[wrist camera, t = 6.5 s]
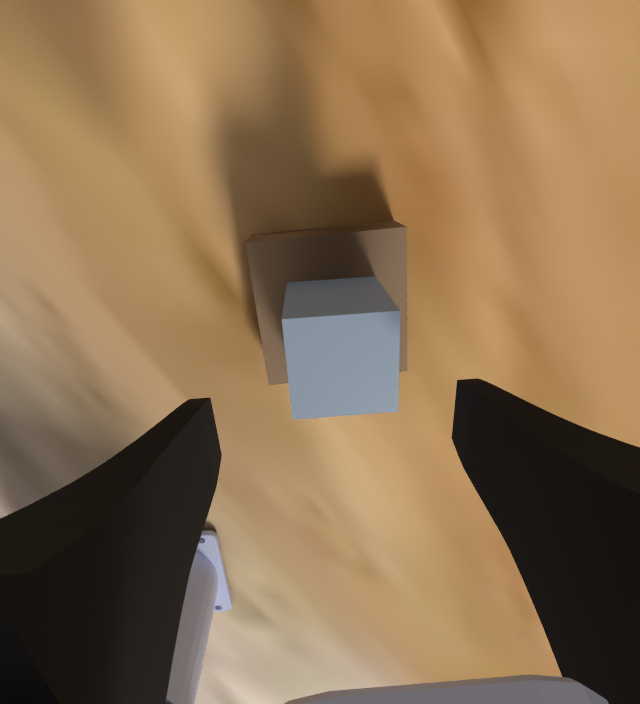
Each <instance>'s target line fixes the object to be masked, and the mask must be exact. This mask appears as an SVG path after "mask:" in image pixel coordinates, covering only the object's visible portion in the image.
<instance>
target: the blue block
mask: <svg viewBox="0 0 640 704" xmlns="http://www.w3.org/2000/svg"><path fill="white" fill-rule="evenodd" d="M282 327H283V336H284V346H285V355H286V364H287V373H288V382H289V391H290V401H291V410H292V419H293V420H294V419H307V418H320V417H334V416H347V415H360V414H373V413H386V412H398V400H399V353H400V309H399V308H398V307H397V305H396V304H395V303H394V301H393V300H392V298H391V297H390V296H389V294H388V293H387V292H386V290H385V289H384V287H383V286H382V285H381V283H380V282H379V281H378V279H377V278H376V276H371V277H358V278H344V279H330V280H316V281H302V282H288V283H287V286H286V293H285V300H284V307H283V313H282Z"/></svg>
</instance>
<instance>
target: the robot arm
mask: <svg viewBox="0 0 640 704" xmlns="http://www.w3.org/2000/svg"><path fill="white" fill-rule="evenodd" d="M452 440H453V442H454V445H455V448H456V450H457V453H458V456H459V458H460V460H461V463H462V465H463V468H464V469H465V471H466V473H467V475H468V477H469V478H470V480H471V482H472V484H473V485H474V487H475V489H476V491H477V492H478V494H479V496H480V498H481V499H482V501H483V503H484V505H485V506H486V508H487V510H488V511H489V513H490V515H491V517H492V518H493V520H494V522H495V524H496V525H497V527H498V529H499V531H500V532H501V534H502V536H503V538H504V540H505V542H506V544H507V546H508V547H509V549H510V551H511V554H512V556H513V558H514V560H515V563H516V565H517V567H518V569H519V572H520V574H521V576H522V578H523V580H524V583H525V585H526V587H527V590H528V592H529V594H530V597H531V599H532V602H533V604H534V606H535V609H536V611H537V613H538V616H539V618H540V621H541V623H542V625H543V628H544V630H545V633H546V636H547V638H548V641H549V643H550V646H551V648H552V651H553V653H554V656H555V659H556V661H557V664H558V666H559V669H560V671H561V674H562V677H554V676H541V675H519V676H507V677H495V678H483V679H471V680H459V681H447V682H435V683H423V684H411V685H399V686H387V687H375V688H363V689H350V690H338V691H328V692H324V693H320V694H316V695H311V696H307V697H303V698H299V699H294V700H290V701H288V702H286V703H285V704H640V447H637V446H633V445H630V444H627V443H624V442H621V441H619V440H616V439H613V438H610V437H608V436H605V435H602V434H599V433H597V432H594V431H591V430H589V429H586V428H584V427H581V426H579V425H577V424H574V423H572V422H570V421H568V420H565V419H563V418H561V417H558V416H556V415H554V414H552V413H550V412H547V411H545V410H543V409H541V408H539V407H537V406H535V405H533V404H531V403H529V402H527V401H525V400H523V399H521V398H519V397H517V396H515V395H513V394H511V393H509V392H507V391H505V390H503V389H501V388H499V387H497V386H495V385H492V384H490V383H488V382H486V381H483V380H481V379H466V380H457V389H456V400H455V410H454V421H453V431H452ZM221 456H222V455H221V450H220V444H219V439H218V434H217V429H216V424H215V419H214V414H213V409H212V404H211V399H210V398H200V399H189V400H187V401H186V402H184V403H183V404H182V405H180V406H179V407H178V408H176V409H175V410H174V411H173V412H171V413H170V414H169V415H168V416H166V417H165V418H164V419H163V420H161V421H160V422H159V423H158V424H156V425H155V426H154V427H153V428H151V429H150V430H149V431H148V432H146V433H145V434H144V435H142V436H141V437H140V438H138V439H137V440H136V441H134V442H133V443H131V444H130V445H129V446H127V447H126V448H125V449H123V450H122V451H120V452H119V453H118V454H116V455H115V456H114V457H112V458H111V459H109V460H108V461H106V462H105V463H103V464H102V465H100V466H98V467H97V468H95V469H94V470H92V471H90V472H89V473H87V474H85V475H84V476H82V477H80V478H79V479H77V480H76V481H74V482H72V483H70V484H68V485H67V486H65V487H63V488H61V489H59V490H57V491H55V492H53V493H51V494H50V495H48V496H46V497H44V498H42V499H40V500H38V501H36V502H34V503H32V504H30V505H29V506H27V507H24V508H22V509H20V510H18V511H16V512H14V513H12V514H10V515H7V516H5V517H3V518H1V519H0V704H194V703H195V698H196V694H197V689H198V684H199V679H200V674H201V669H202V664H203V659H204V655H205V650H206V645H207V640H208V635H209V630H210V625H211V620H212V615H213V612H221V611H228V610H230V609H231V608H232V598H231V594H230V589H229V585H228V581H227V576H226V572H225V567H224V563H223V558H222V554H221V550H220V545H219V541H218V536H217V534H216V533H215V532H214V531H210V530H208V531H203V528H204V525H205V521H206V518H207V515H208V512H209V509H210V506H211V502H212V499H213V496H214V493H215V489H216V486H217V480H218V475H219V469H220V462H221ZM203 538H204V539H203Z"/></svg>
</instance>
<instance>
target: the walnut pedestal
mask: <svg viewBox="0 0 640 704" xmlns="http://www.w3.org/2000/svg"><path fill="white" fill-rule="evenodd" d="M245 245H246V251H247V257H248V263H249V269H250V275H251V281H252V287H253V293H254V299H255V305H256V311H257V317H258V323H259V329H260V335H261V341H262V347H263V353H264V359H265V365H266V371H267V377H268V383H269V385H274V384H283V383H289V382H288V373H287V364H286V355H285V346H284V336H283V327H282V313H283V307H284V300H285V293H286V286H287V283H288V282H302V281H316V280H330V279H344V278H358V277H371V276H376V278H377V279H378V281H379V282H380V283H381V285H382V286H383V287H384V289H385V290H386V292H387V293H388V294H389V296H390V297H391V298H392V300H393V301H394V303H395V304H396V305H397V307H398V308H399V309H400V353H399V372H401V371H407V227H406V226H404V225H402V224H400V223H398V222H396V221H385V222H376V223H366V224H356V225H346V226H336V227H327V228H317V229H307V230H297V231H288V232H278V233H268V234H258V235H252V236H251V237H250V238H249V239H248V241H247V242H246V243H245Z"/></svg>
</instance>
